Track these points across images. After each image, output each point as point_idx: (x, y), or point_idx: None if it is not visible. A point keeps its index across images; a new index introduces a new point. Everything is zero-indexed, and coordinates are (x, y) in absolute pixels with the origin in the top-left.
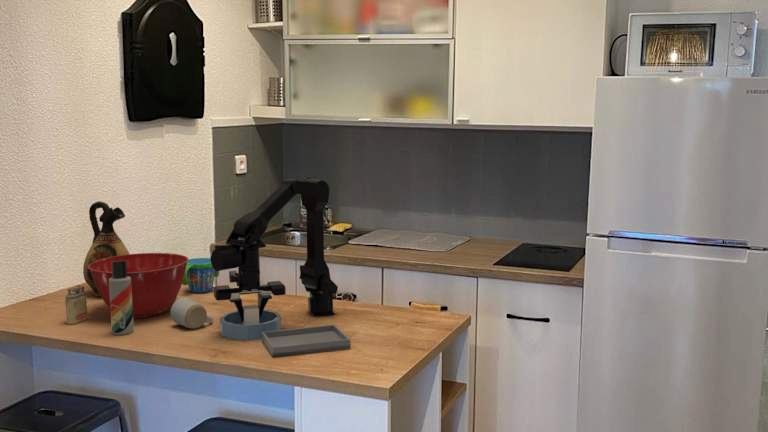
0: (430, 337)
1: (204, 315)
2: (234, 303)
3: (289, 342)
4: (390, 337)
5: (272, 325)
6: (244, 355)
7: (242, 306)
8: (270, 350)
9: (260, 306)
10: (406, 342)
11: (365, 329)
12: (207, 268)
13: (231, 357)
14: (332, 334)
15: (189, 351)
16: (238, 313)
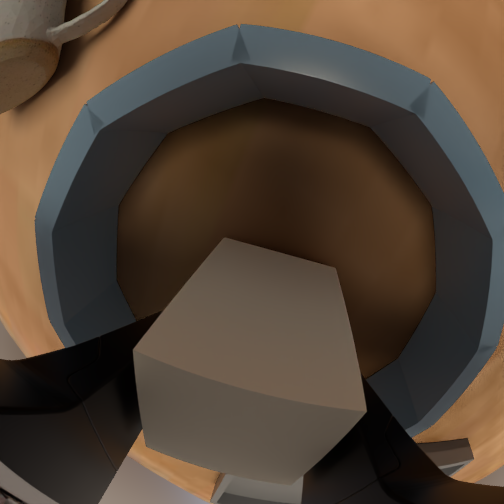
0: (498, 465)
1: (19, 65)
2: (25, 367)
3: (294, 484)
4: (481, 464)
5: None
6: (155, 450)
7: (144, 372)
8: (216, 484)
9: (303, 502)
10: (464, 480)
11: None
12: None
13: None
14: None
15: (30, 340)
16: (234, 74)
